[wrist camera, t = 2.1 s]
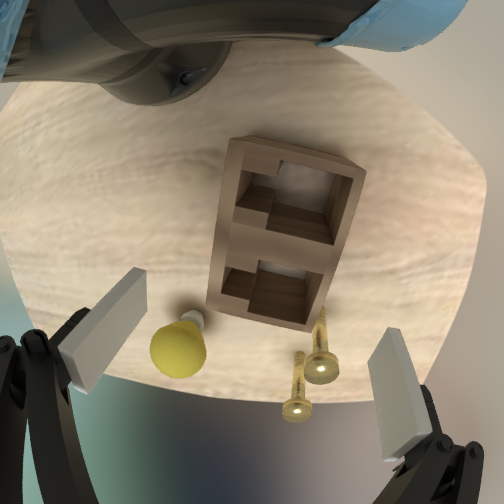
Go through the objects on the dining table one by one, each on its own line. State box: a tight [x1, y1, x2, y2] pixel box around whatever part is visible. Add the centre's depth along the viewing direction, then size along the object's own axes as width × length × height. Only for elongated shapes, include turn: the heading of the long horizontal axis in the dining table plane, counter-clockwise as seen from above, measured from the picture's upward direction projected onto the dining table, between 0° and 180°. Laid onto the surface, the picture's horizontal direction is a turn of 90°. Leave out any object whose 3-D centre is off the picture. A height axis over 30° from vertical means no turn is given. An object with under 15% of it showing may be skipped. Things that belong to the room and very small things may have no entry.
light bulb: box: [150, 310, 206, 378], centre depth 32 cm, size 7×7×10 cm
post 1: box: [282, 352, 312, 423], centre depth 32 cm, size 3×3×10 cm
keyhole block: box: [205, 136, 367, 333], centre depth 26 cm, size 15×10×8 cm, turn 170°
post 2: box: [304, 307, 339, 385], centre depth 29 cm, size 3×3×10 cm
